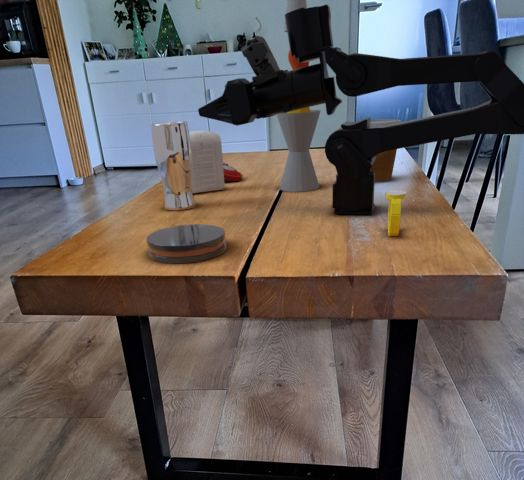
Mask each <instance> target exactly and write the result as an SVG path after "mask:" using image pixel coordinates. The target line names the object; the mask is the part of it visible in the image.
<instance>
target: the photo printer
mask: <svg viewBox="0 0 524 480" xmlns="http://www.w3.org/2000/svg"><path fill="white" fill-rule="evenodd" d="M189 135H190V141H191V149H192V172H191V187H192V193H193V194H199V193H200V194H201V193H207V192H208V193H209V192H215V191H224V190H225V188H226V186H225V185H226V184H225V179H224V171H223V162H224V159H223V147H222V146H223V145H222V139H221V136H220V134H219V133H217V132H214V131H208V130H192V131H189Z"/></svg>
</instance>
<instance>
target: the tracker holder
mask: <svg viewBox="0 0 524 480" xmlns="http://www.w3.org/2000/svg"><path fill="white" fill-rule="evenodd" d="M223 171H224V180H227V181H232V182H240V181H242V179H243V174H242V173H241V172H240V171H238V170H237V169H236V168H234V167H233V166H230V165H229V164H228V163H226V162H224V161H223Z"/></svg>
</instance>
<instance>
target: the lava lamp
mask: <svg viewBox="0 0 524 480" xmlns="http://www.w3.org/2000/svg"><path fill="white" fill-rule="evenodd" d="M303 7H304V8H308V4H307V0H287V2H286V12H285V14H287V13H289V12H291V11H293V10H296V9H299V8H303ZM283 32H284V33H287V27H286V20H285V19H284V29H283ZM298 59H299V58H297V59H295V57H291V52H290V49H289V50H288V54H287V60H288V63H289V65H290V67H291V69H292V70H295V69H299V68H303V67H307V66H310V61H309V62H305V63H298ZM320 114H321V110H320V109H311V107H306V108H302V109H298V110H293V111H290V112H285V113H280V114H276V118H277V120H278V123H279V126H280V129H281V132H282V136H283V138H284V141H285V144H286V148H287V150H288V154H287V158H286V162H285V166H284V170H283V174H282V178H281V182H280V185H279V190H280V191H282V192H283V191H284V192H289V193H290V192H294V193H295V192H297V193H299V192H310V191H314V190H318V189H319V188H320V184H319V180H318V176H317V173H316V170H315V167H314V162H313V159H312V155H311V153H310V148H311V145H312V142H313V138H314V135H315V131H316V128H317V125H318V121H319V118H320Z"/></svg>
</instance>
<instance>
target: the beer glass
mask: <svg viewBox="0 0 524 480" xmlns="http://www.w3.org/2000/svg"><path fill="white" fill-rule="evenodd" d="M150 127H151V137H152V138H151V139H152V148H153V155H154V158H155V162H156V166H157V170H158V173H159V175H160V179H161V181H162V187H163V192H164V203H163V204H164V209H165V210H166V211H185V210H191V209H193V208H195V207H196V205H197V204H196V200H195V197H194V193H192V187H191V172H192V149H191V141H190V135H189V132H190V130H189V124H188V121H178V120H177V121H164V122H163V121H162V122H156V123H151V124H150Z"/></svg>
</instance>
